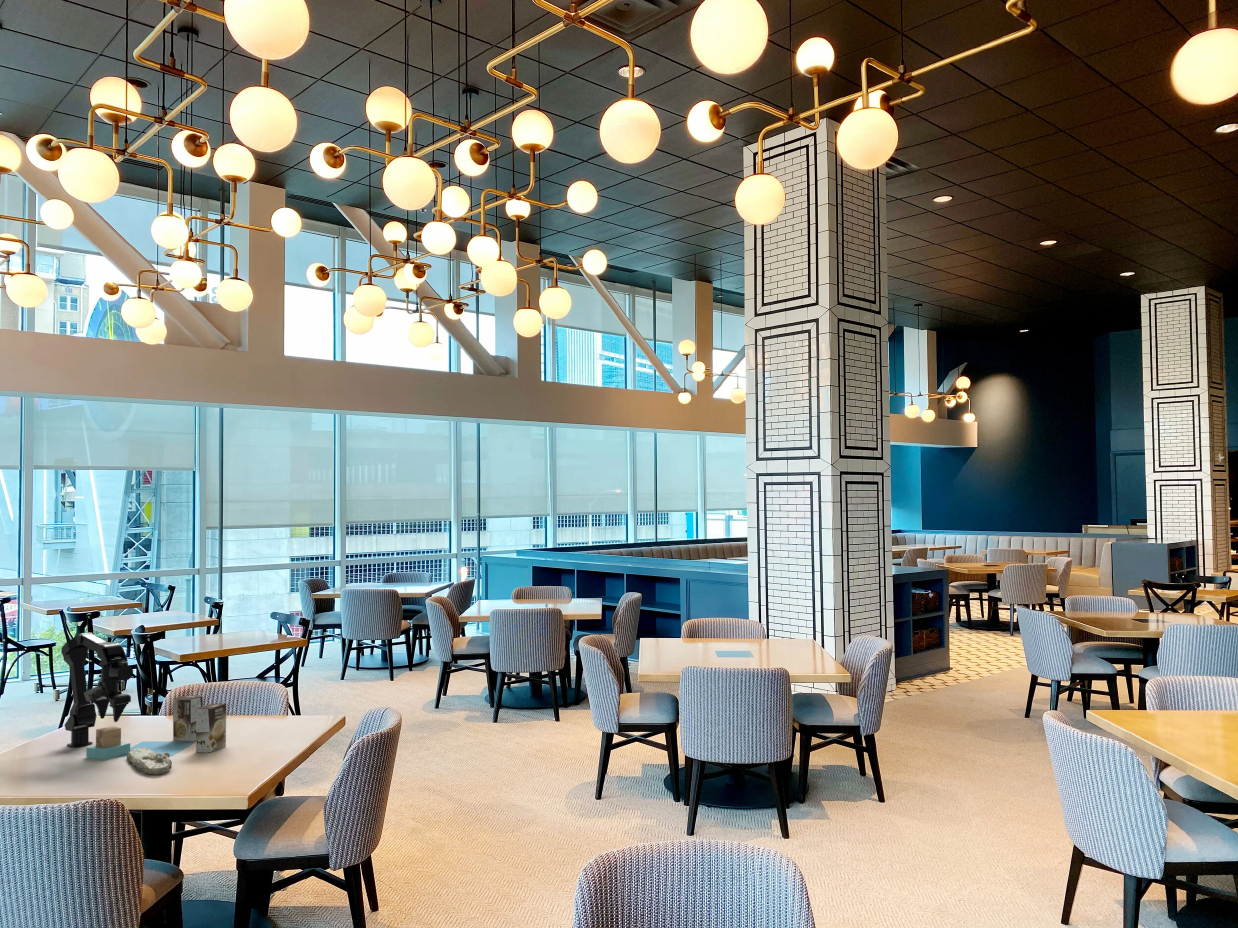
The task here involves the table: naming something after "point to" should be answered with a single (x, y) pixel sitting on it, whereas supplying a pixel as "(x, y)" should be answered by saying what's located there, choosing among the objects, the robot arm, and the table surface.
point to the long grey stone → (150, 761)
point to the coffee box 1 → (185, 717)
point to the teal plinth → (107, 751)
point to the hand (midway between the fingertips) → (109, 720)
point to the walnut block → (108, 737)
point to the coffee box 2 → (211, 727)
